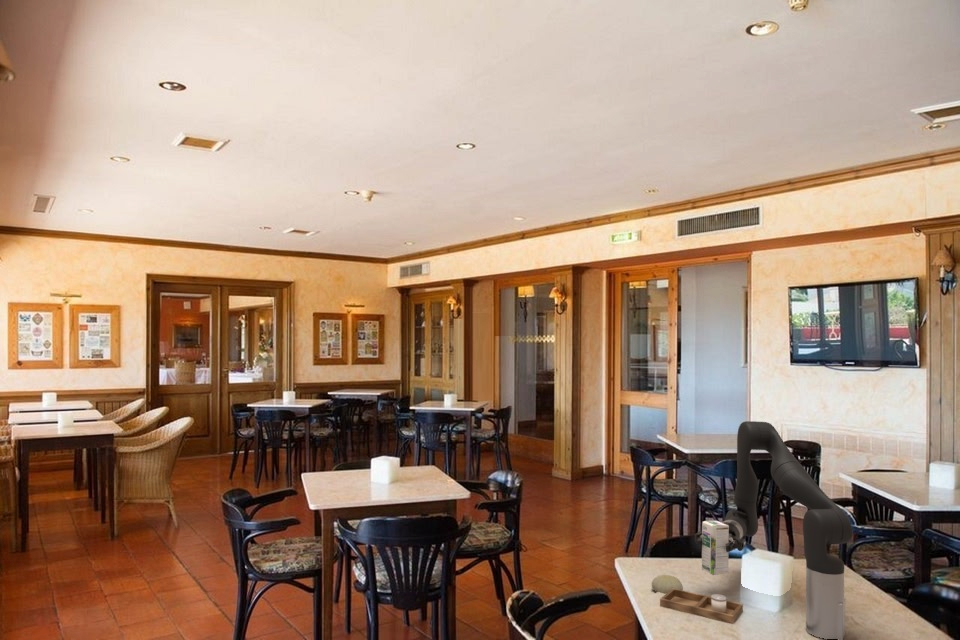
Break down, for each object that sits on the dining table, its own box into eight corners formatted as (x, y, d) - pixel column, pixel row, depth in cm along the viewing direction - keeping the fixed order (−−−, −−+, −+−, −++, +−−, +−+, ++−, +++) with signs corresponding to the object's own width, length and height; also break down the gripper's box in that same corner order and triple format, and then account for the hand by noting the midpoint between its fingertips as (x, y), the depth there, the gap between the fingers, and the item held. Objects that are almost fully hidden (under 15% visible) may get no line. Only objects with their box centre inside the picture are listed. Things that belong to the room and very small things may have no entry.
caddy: (742, 614, 194) (742, 604, 194) (732, 627, 185) (732, 616, 185) (672, 598, 206) (672, 588, 206) (659, 609, 196) (660, 599, 197)
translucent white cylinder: (728, 612, 193) (728, 596, 193) (724, 616, 189) (724, 600, 190) (713, 608, 195) (713, 593, 195) (709, 613, 192) (709, 597, 192)
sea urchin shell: (686, 592, 205) (668, 572, 207) (667, 609, 206) (649, 589, 208) (684, 582, 214) (666, 563, 216) (666, 598, 215) (648, 579, 217)
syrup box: (700, 569, 204) (700, 521, 204) (717, 567, 205) (717, 519, 206) (712, 575, 198) (712, 526, 199) (729, 573, 200) (729, 524, 200)
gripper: (705, 518, 218) (689, 529, 205) (751, 525, 210) (738, 537, 197) (705, 541, 218) (689, 554, 204) (751, 550, 210) (738, 563, 196)
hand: (713, 546), depth 201 cm, fingers closed on syrup box, 7 cm apart
